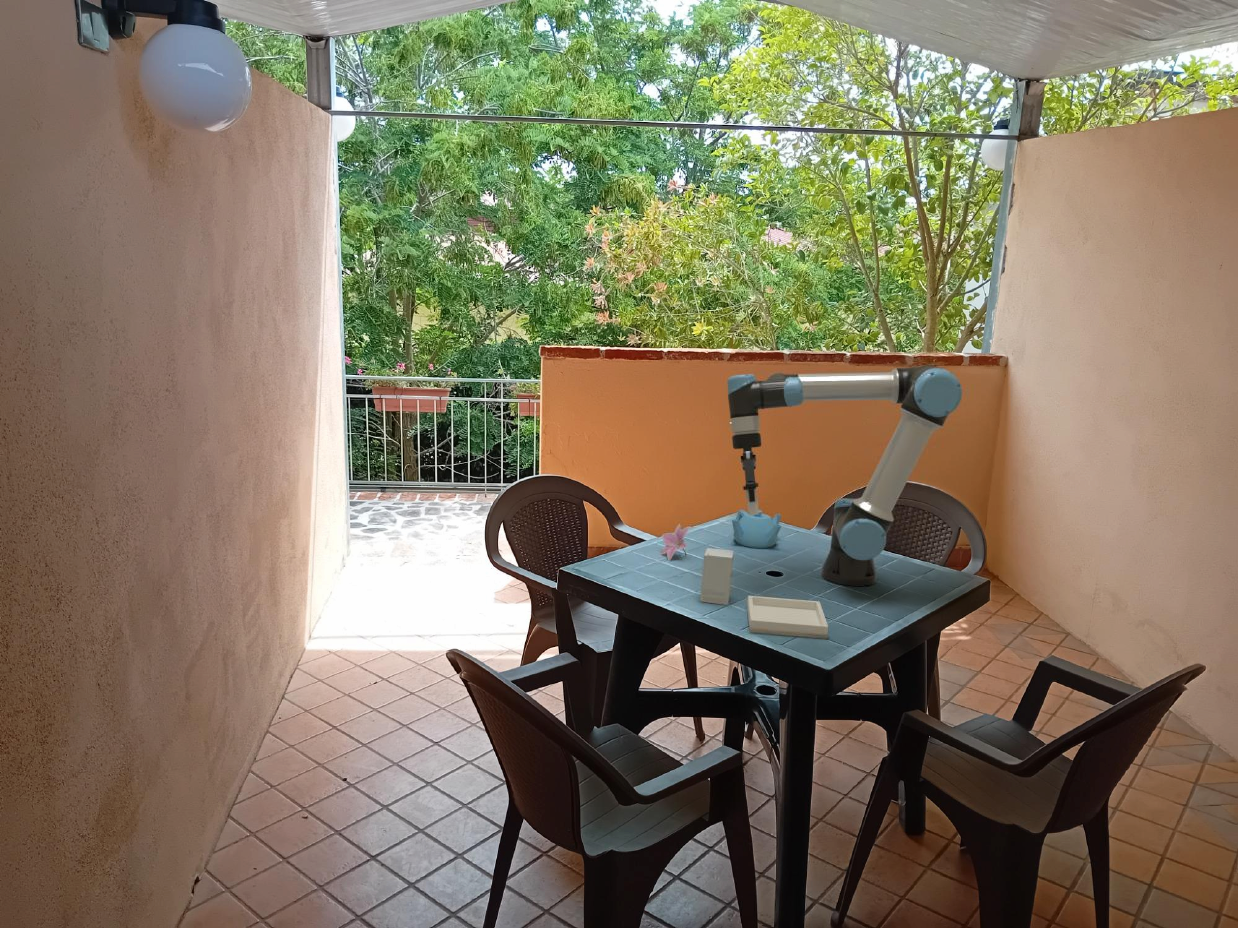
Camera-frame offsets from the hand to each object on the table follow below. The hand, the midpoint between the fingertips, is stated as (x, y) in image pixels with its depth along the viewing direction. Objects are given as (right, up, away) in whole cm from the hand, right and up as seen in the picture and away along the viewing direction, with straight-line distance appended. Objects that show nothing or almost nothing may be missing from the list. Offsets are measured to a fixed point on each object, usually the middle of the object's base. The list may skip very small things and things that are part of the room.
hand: (753, 513), depth 249 cm
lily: (-19, -15, +31) cm, 39 cm away
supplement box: (-11, -22, -5) cm, 25 cm away
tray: (+5, -26, -19) cm, 32 cm away
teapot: (+8, -13, +51) cm, 53 cm away
